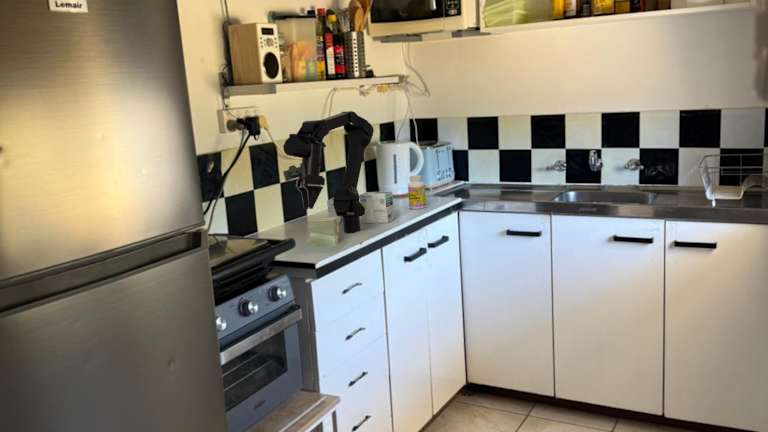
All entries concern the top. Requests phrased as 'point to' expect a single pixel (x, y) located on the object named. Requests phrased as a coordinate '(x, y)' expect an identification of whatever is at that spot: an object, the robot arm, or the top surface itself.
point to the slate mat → (320, 248)
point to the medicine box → (333, 210)
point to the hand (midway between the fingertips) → (308, 209)
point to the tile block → (324, 231)
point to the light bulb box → (377, 207)
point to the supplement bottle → (416, 193)
